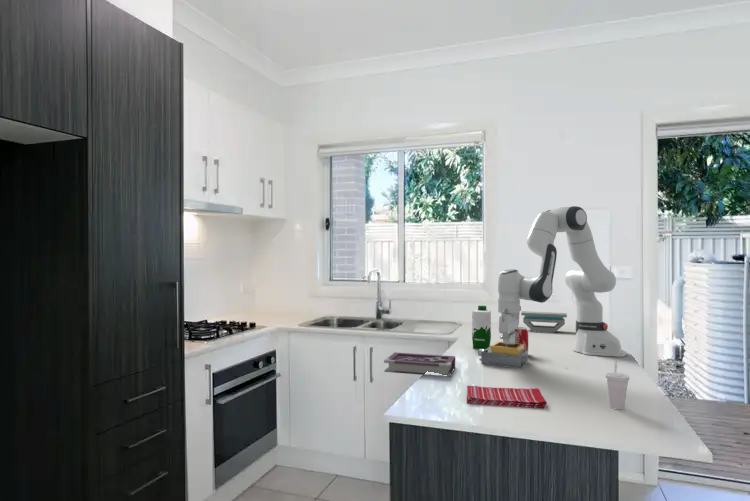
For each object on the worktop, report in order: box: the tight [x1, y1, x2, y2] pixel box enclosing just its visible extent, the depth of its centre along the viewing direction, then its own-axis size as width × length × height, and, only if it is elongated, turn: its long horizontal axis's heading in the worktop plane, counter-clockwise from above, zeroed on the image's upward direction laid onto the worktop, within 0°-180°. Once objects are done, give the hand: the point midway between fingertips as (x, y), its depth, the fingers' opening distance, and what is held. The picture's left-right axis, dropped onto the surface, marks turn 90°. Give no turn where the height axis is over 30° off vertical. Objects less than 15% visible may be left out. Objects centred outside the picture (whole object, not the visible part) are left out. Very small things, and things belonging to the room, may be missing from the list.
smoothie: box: [605, 360, 630, 410], centre depth 145 cm, size 6×6×14 cm
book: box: [383, 351, 456, 377], centre depth 191 cm, size 25×16×5 cm, turn 73°
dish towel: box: [466, 385, 548, 410], centre depth 154 cm, size 17×24×3 cm
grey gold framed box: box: [477, 341, 529, 369], centre depth 205 cm, size 20×14×8 cm
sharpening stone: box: [520, 310, 568, 333], centre depth 286 cm, size 25×8×11 cm, turn 70°
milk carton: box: [471, 305, 492, 350], centre depth 237 cm, size 9×9×20 cm
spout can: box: [499, 332, 515, 348], centre depth 204 cm, size 6×5×7 cm
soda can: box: [514, 326, 529, 351], centre depth 221 cm, size 7×7×12 cm
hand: (508, 341), depth 203 cm, fingers open, 8 cm apart
